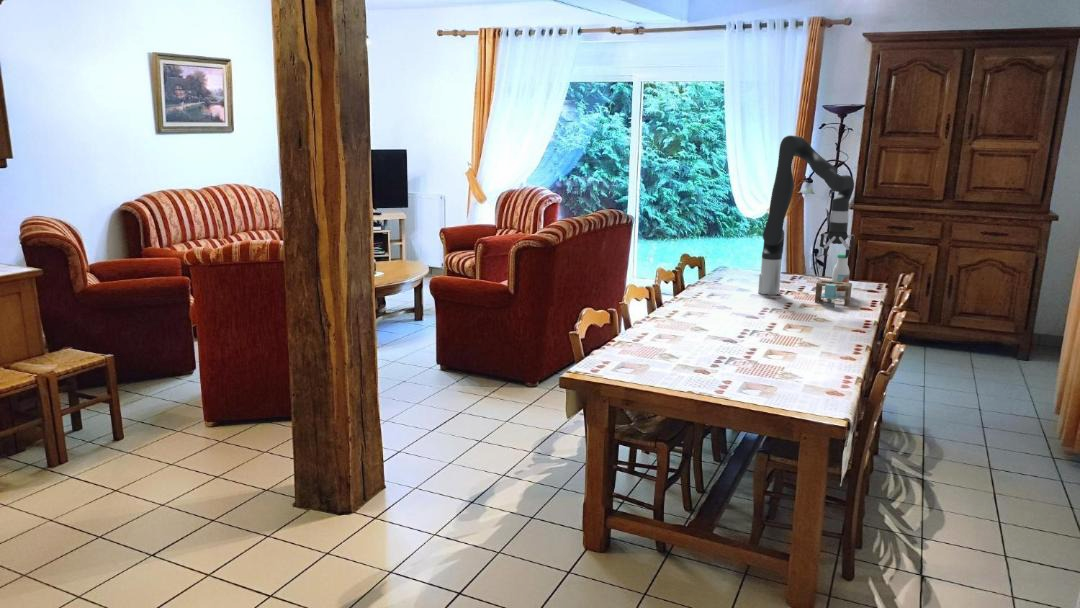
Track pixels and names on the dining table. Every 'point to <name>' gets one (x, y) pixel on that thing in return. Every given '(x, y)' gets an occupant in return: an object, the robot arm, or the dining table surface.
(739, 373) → the dining table surface
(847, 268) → the milk bottle
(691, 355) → the dining table surface
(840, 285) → the brown keyhole frame
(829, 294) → the teal peg
